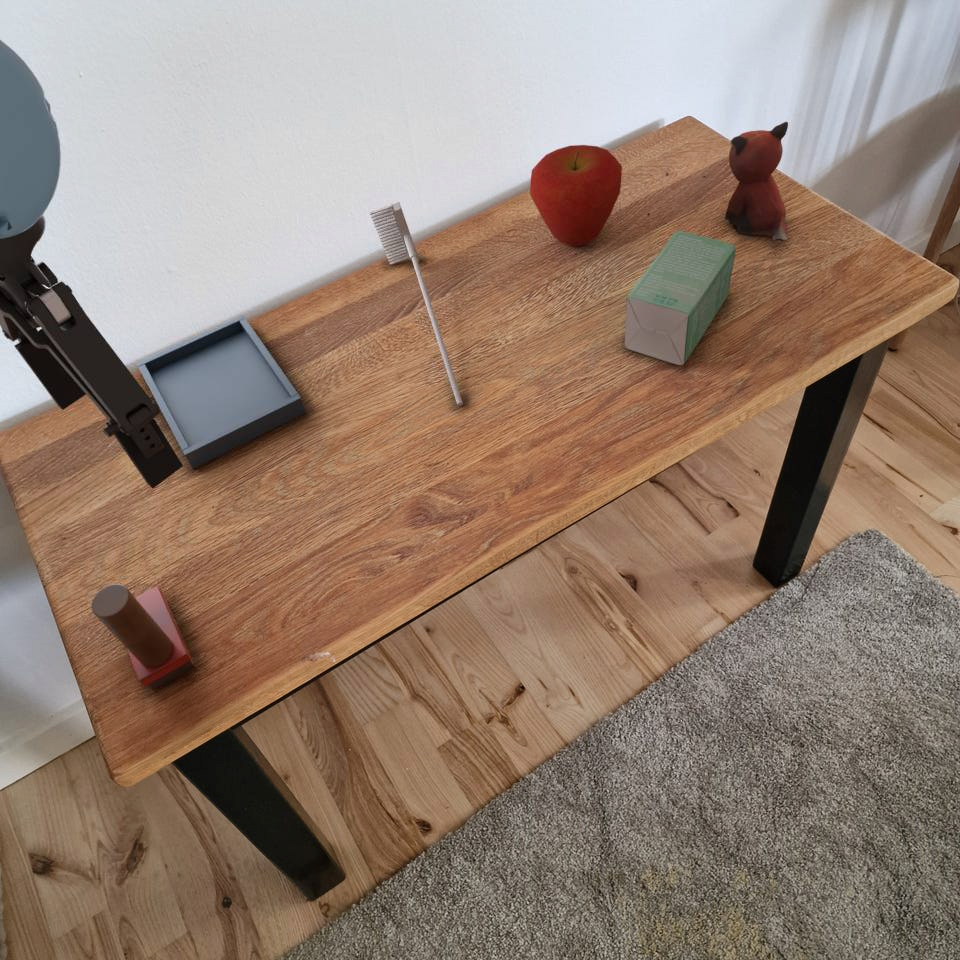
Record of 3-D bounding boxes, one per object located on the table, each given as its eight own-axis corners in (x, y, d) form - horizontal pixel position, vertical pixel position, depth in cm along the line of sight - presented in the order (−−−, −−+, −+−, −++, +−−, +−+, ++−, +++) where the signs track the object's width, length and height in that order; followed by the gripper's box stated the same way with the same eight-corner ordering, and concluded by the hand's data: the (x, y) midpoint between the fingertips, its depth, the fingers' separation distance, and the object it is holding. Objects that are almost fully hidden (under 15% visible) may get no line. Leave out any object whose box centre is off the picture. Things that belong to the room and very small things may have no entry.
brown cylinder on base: (198, 667, 73) (143, 601, 64) (151, 694, 72) (88, 630, 63) (169, 600, 78) (113, 529, 69) (124, 624, 77) (62, 555, 68)
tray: (306, 412, 92) (301, 397, 90) (192, 468, 88) (184, 455, 87) (248, 328, 102) (242, 314, 100) (144, 376, 98) (136, 362, 97)
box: (730, 294, 97) (739, 240, 91) (684, 368, 90) (690, 315, 84) (671, 278, 100) (676, 225, 94) (622, 349, 93) (624, 296, 87)
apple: (602, 205, 110) (603, 119, 101) (632, 251, 104) (637, 162, 94) (523, 226, 109) (516, 140, 100) (548, 273, 103) (544, 186, 93)
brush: (440, 435, 94) (421, 391, 86) (389, 264, 107) (369, 211, 99) (472, 425, 94) (455, 379, 86) (417, 255, 107) (399, 201, 99)
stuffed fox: (762, 261, 100) (780, 171, 90) (704, 217, 106) (715, 128, 97) (812, 238, 101) (834, 148, 92) (752, 196, 108) (767, 107, 99)
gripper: (115, 222, 43) (251, 478, 59) (-75, 108, 56) (80, 346, 72) (-16, 298, 40) (165, 547, 56) (-186, 160, 52) (2, 396, 69)
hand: (118, 435), depth 64 cm, fingers open, 13 cm apart
